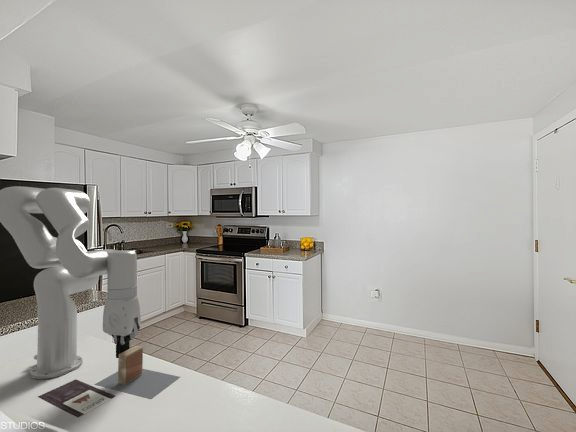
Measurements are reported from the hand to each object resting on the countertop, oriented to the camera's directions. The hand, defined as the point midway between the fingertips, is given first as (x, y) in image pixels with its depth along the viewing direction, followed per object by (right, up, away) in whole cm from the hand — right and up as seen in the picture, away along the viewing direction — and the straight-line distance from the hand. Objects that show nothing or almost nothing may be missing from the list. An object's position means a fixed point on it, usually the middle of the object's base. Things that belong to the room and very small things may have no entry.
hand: (122, 356), depth 84 cm
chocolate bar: (-6, -7, -9) cm, 13 cm away
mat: (+6, -6, -2) cm, 9 cm away
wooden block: (+3, -6, -1) cm, 7 cm away
